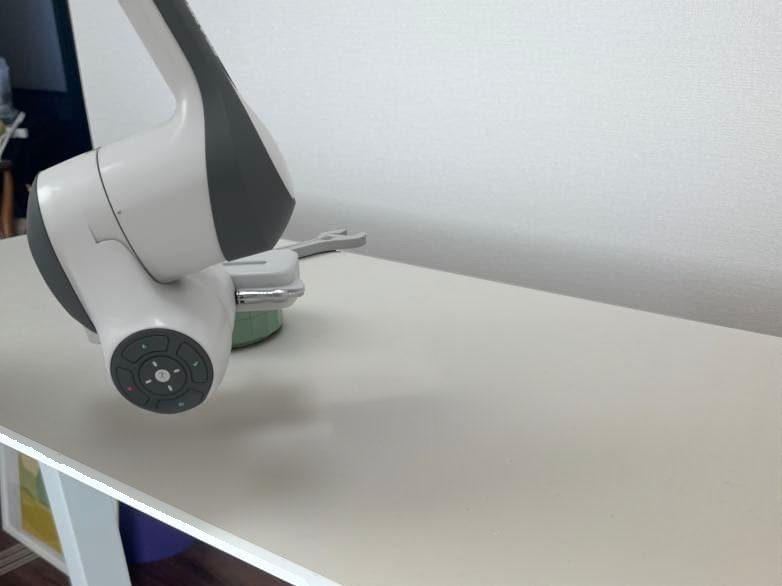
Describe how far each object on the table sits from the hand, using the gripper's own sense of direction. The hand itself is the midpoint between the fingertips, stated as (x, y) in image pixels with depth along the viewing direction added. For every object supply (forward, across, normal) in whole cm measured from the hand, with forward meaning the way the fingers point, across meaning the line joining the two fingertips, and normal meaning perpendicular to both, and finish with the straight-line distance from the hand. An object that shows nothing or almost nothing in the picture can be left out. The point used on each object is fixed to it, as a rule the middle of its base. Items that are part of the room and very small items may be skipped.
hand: (196, 257), depth 81 cm
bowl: (+12, 0, +12) cm, 17 cm away
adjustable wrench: (+42, -9, +12) cm, 45 cm away
